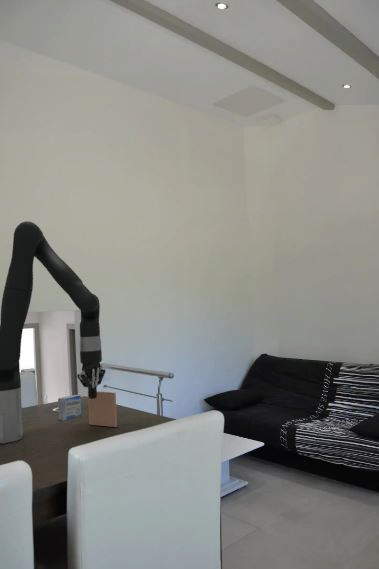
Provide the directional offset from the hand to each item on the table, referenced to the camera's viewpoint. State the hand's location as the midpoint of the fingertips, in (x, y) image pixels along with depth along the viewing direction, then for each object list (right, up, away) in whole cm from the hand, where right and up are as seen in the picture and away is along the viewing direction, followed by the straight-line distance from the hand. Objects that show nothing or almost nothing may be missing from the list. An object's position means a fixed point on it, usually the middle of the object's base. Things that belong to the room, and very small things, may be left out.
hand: (92, 398), depth 167 cm
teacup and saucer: (-18, -15, +39) cm, 46 cm away
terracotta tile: (+3, -11, +5) cm, 12 cm away
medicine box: (-13, -13, +20) cm, 28 cm away
